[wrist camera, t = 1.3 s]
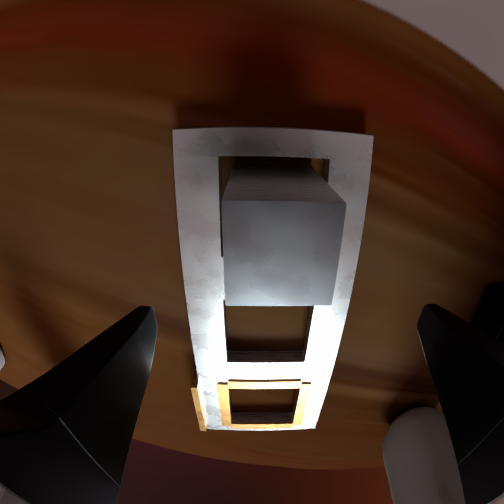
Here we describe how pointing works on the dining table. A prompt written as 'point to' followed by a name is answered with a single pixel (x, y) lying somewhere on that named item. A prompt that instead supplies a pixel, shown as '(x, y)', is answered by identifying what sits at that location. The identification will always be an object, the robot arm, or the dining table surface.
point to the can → (1, 359)
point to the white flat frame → (212, 271)
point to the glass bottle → (421, 459)
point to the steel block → (280, 236)
